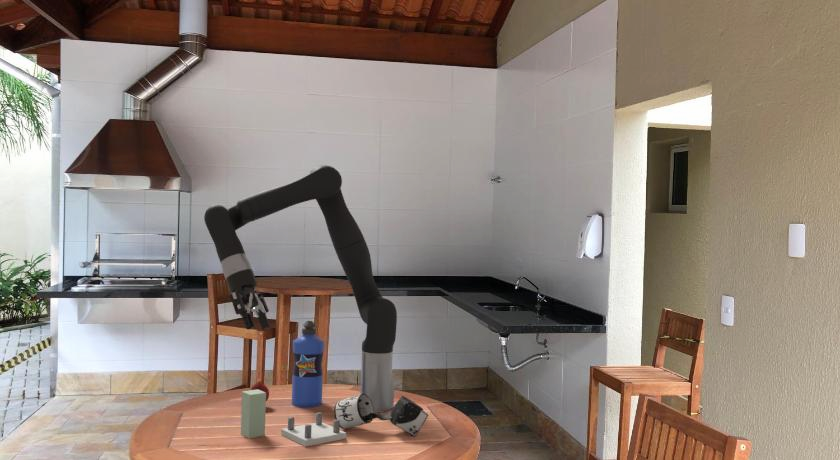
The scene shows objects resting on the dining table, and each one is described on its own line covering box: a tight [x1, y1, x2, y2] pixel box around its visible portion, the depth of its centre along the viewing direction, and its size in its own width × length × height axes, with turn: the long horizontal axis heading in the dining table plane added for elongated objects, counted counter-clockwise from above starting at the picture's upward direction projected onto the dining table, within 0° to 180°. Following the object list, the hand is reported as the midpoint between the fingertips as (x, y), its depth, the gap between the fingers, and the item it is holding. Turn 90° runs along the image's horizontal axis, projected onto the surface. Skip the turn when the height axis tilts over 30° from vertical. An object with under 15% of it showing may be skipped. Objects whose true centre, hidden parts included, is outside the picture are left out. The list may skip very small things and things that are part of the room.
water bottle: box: [291, 320, 325, 408], centre depth 222 cm, size 9×9×25 cm
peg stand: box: [280, 412, 347, 447], centre depth 189 cm, size 12×12×4 cm
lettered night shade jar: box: [333, 393, 429, 438], centre depth 195 cm, size 25×10×10 cm, turn 83°
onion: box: [249, 379, 270, 402], centre depth 216 cm, size 6×6×8 cm
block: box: [240, 389, 267, 439], centre depth 189 cm, size 4×4×11 cm
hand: (259, 328), depth 197 cm, fingers open, 8 cm apart
